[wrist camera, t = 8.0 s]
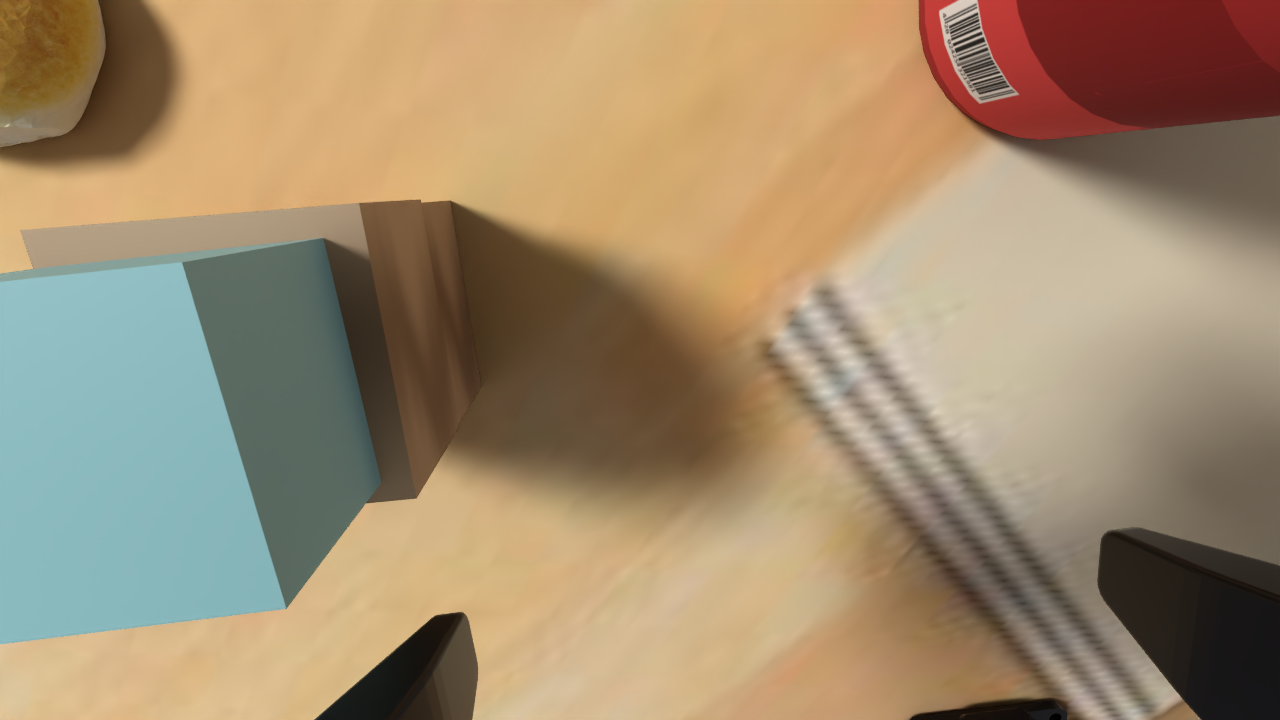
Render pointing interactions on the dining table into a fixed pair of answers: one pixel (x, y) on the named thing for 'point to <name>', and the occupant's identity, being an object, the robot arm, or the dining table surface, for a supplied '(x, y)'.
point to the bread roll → (47, 66)
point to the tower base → (452, 303)
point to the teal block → (173, 437)
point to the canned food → (1103, 62)
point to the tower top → (368, 297)
